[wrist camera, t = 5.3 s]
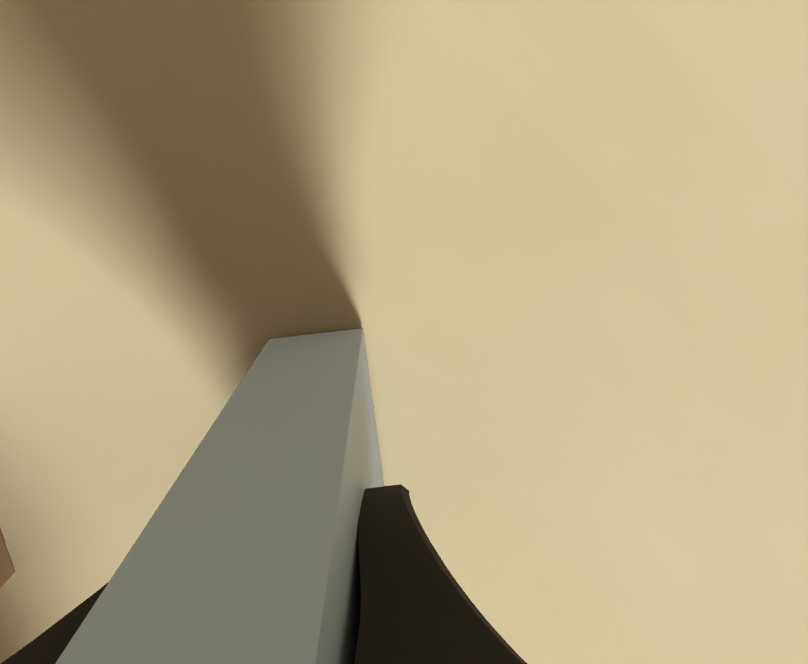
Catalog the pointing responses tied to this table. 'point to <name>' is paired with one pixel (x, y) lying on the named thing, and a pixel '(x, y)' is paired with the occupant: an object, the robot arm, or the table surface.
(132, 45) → the table surface
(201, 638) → the blue domino
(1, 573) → the domino
